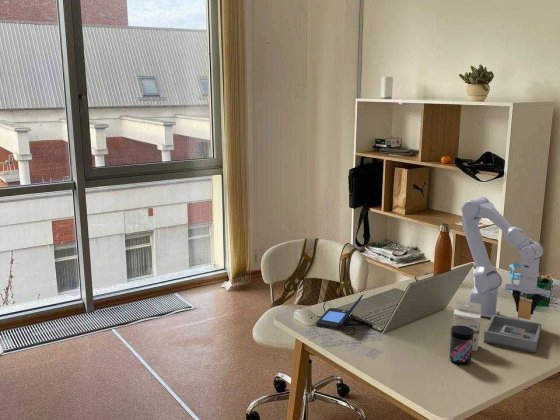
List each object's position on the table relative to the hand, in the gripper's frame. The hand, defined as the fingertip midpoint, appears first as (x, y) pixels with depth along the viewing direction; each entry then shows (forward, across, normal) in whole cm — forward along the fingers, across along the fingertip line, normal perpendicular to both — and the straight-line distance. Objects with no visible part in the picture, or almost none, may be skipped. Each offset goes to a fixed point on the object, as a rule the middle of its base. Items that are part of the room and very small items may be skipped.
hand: (524, 312), depth 201 cm
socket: (+5, -2, -13) cm, 14 cm away
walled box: (+5, -2, -13) cm, 14 cm away
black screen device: (+6, -59, -29) cm, 66 cm away
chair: (+6, -7, +35) cm, 36 cm away
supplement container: (+5, -14, -38) cm, 41 cm away
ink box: (+6, -15, -27) cm, 31 cm away
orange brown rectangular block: (+2, 0, 0) cm, 2 cm away
